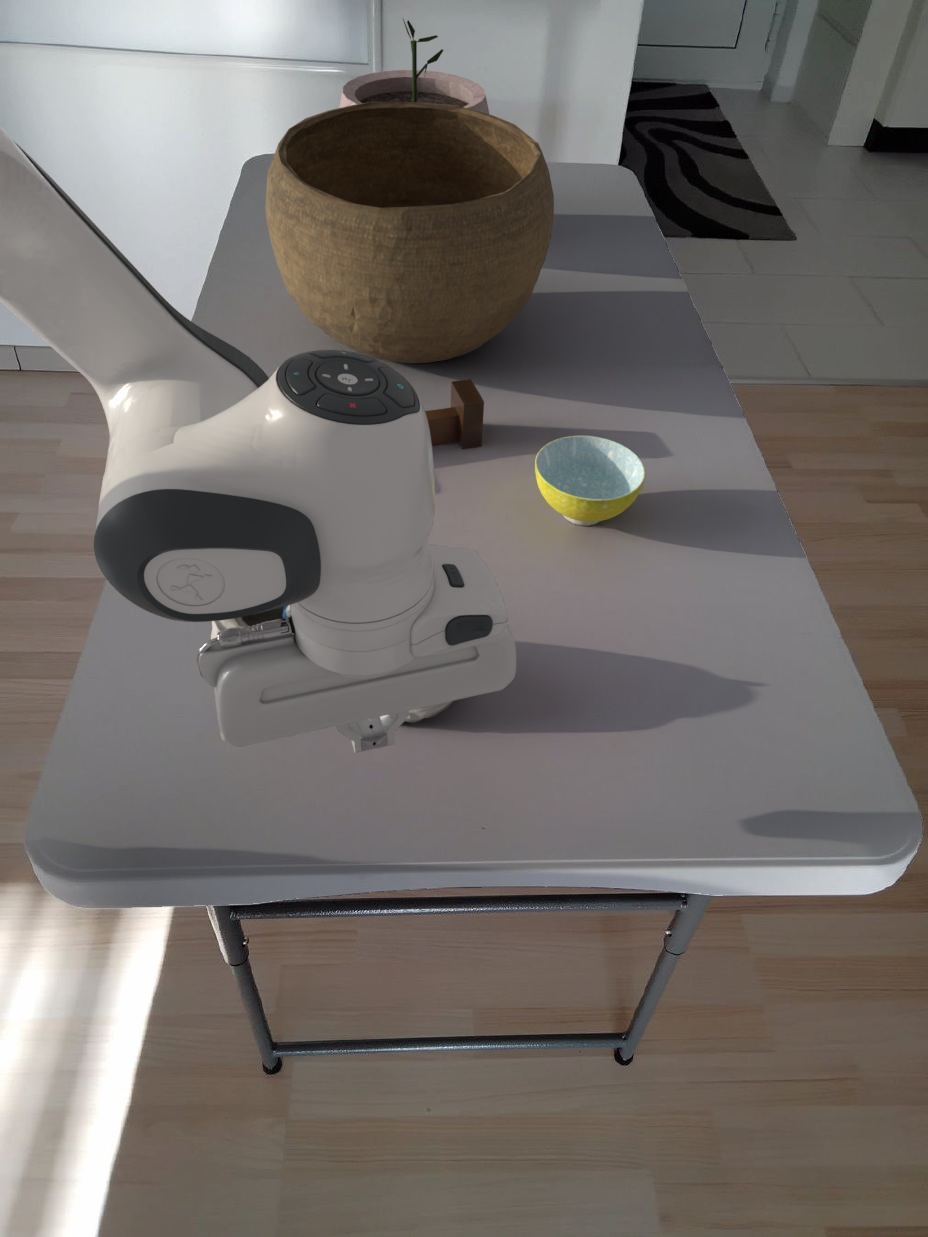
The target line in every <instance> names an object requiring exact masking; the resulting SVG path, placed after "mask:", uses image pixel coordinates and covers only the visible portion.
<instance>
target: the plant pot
mask: <svg viewBox="0 0 928 1237" xmlns="http://www.w3.org/2000/svg"><path fill="white" fill-rule="evenodd" d="M402 21H403V23H404V27H405V30H406V33H407V35H408V37H409V39H410V41H409V42H410V49H411V69H398V70H384V71H378V72H370V73H367V74H363V75H360V76H357V77H355V78H352V79H351V80H348V81H347V82H346V83H345V84H344V85H343V86H342V91H341V96H340V102H339V106H338V108H342V107H346V106H351V105H356V104H362V103H368V102H375V101H380V102H417V103H434V104H447V105H455V106H460V107H464V108H468V109H471V110H475V111H479V112H482V113H486V114H489V115H490V109H489V105H488V101H487V95H486V91H485V88H483V87H482V86H481V85H480V84H479V83H477V82H475V81H473V80H471V79H469V78H466V77H463V76H460V75H457V74H451V73H445V72H441V71H433V70H427V68H428V65H430V64H432V63H435V62H437V61H438V60H439V59H440V57H441V56H442V54H443V52H444V49H443V48H441V49H440V50H439V51H438V52H436V53H435V54H434V55H432V57H430V58H429V59H428V60H427V61H426V63H424V65H423V66H422V67H421V69H418V66H417V65H418V62H417V59H418V57H417V56H418V55H417V54H418V52H417V45H418V43H426V42H427V43H429V42H431V41H432V40H435V39H437V38H439V36H438V35H437V34H435V35H431V36H426V37H422V38H421V37H420V38H418V40H416V39H414V38H415V33H416V30H415V28H414V27H413V25H412V23H411V22H410V20H409V19H408V20H407V21H406V22H405V19H404V18H402ZM406 23H407V24H406Z"/></svg>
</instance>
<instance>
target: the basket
mask: <svg viewBox="0 0 928 1237" xmlns="http://www.w3.org/2000/svg"><path fill="white" fill-rule="evenodd" d="M552 184H553V183H552V180H551V173H550V168H549V167H548V163H547V161H546V159H545V156H544V153H543V151H542V149H541V147H540V143H539V142H537V140H535V139H533V137H531V135H529V134H527V133H526V132H525V131H524V130H523V129H521V128H520V127H519V126H517V125H516V124H515V123H512V122H511V121H507V120H505V119H502V118H500V117H499V116H495V115H494V114H493V115H492V114H490V113H489V114H486V113H482V112H479V111H475V110H471V109H468V108H464V107H460V106H455V105H447V104H434V103H417V102H380V101H375V102H368V103H362V104H356V105H351V106H346V107H342V108H339V107H338V108H334V109H329V110H325V111H323V112H320V113H317V114H314V115H311V116H308V117H305V118H304V119H303V120H301V121H299V122H297V123H296V124H294V125H293V126H291V127H289V128H288V129H287V131H286V132H285V134H284V135H283V136H282V138H281V139H280V141H279V142H278V143H277V146H276V148H275V151H274V154H273V157H272V160H271V162H270V164H269V166H268V170H267V177H266V187H265V188H266V189H265V218H266V224H267V230H268V234H269V239H270V242H271V243H270V244H271V247H272V250H273V255H274V258H275V261H276V262H275V263H276V265H277V267H278V271H279V273H280V276H281V279H282V282H283V285H284V288H285V290H286V292H288V293H289V295H290V296H291V298H292V299H293V300H294V302H295V303H296V305H298V308H299V310H301V312H302V313H303V314H304V316H305V317H306V318H307V319H308V320H309V321H310V322H311V323H312V324H314V326H315V327H317V328H318V329H320V330H321V331H322V332H323V333H324V334H326V335H327V336H329V337H330V338H331V339H333V340H335V341H337V342H338V343H340V344H341V345H343V346H346V347H347V348H349V349H351V350H353V351H355V352H356V353H358V354H362V355H365V356H368V357H371V358H373V359H378V360H382V361H387V362H392V363H393V362H394V363H403V364H404V363H406V364H429V363H434V362H440V361H448V360H451V359H453V358H456V357H457V358H458V357H461V356H464V355H467V354H469V353H471V352H473V351H475V350H477V349H479V348H480V347H481V346H483V345H484V344H486V343H487V342H489V341H490V340H491V339H493V338H494V337H497V335H499V334H500V333H501V332H503V331H505V329H506V328H507V326H509V325H510V323H511V322H512V321H513V320H514V319H515V317H517V315H518V314H519V313H520V312H521V310H522V309H523V307H525V305H526V304H527V303H528V301H529V300H530V299H531V296H532V294H533V291H534V289H535V286H536V284H537V282H538V279H539V276H540V273H541V271H542V269H543V267H544V264H545V263H546V262H545V261H546V259H547V254H548V252H549V251H548V250H549V247H550V243H551V240H552V235H553V229H554V219H555V218H554V217H555V196H554V195H555V194H554V190H553V185H552Z"/></svg>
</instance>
